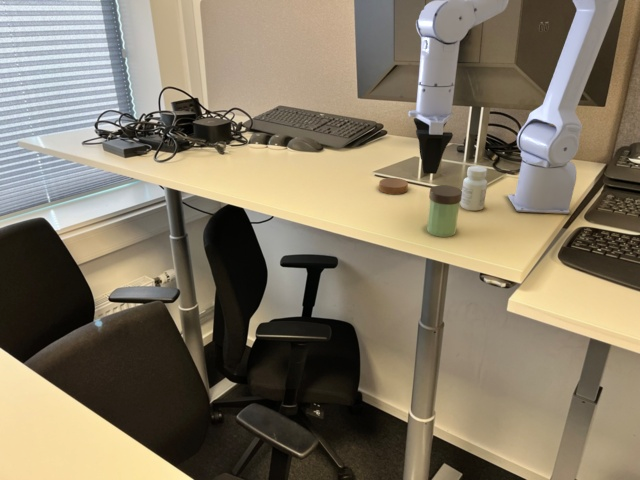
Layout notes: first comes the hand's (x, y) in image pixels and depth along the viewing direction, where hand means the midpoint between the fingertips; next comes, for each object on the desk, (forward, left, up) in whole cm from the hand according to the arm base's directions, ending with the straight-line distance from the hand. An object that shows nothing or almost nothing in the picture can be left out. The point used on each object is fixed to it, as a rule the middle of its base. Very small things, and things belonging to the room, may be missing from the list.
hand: (428, 165), depth 81 cm
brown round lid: (-3, +4, -4) cm, 7 cm away
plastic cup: (-3, +4, -10) cm, 12 cm away
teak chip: (+5, -15, -10) cm, 19 cm away
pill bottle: (-10, -7, -10) cm, 16 cm away
